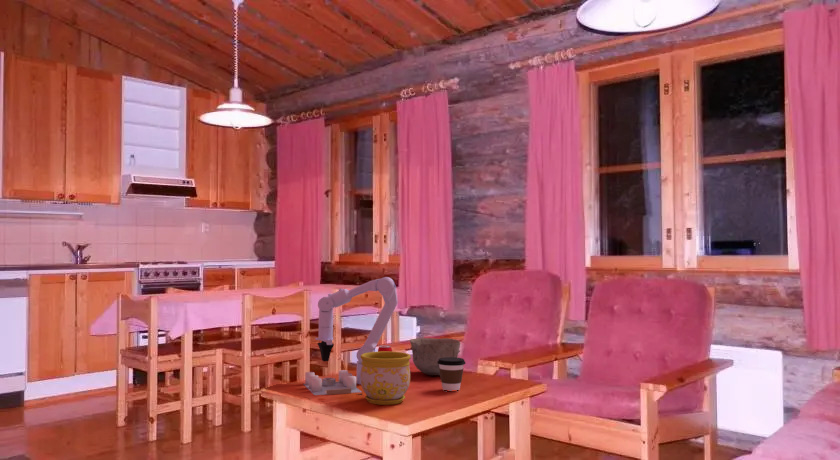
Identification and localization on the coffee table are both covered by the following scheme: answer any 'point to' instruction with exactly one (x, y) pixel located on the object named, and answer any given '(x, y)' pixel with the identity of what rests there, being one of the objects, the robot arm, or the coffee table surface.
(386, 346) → the beverage can
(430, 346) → the bowl
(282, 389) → the coffee table surface
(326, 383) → the hexagonal block with ball
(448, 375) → the coffee cup
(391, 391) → the flowerpot
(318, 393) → the spacer board
